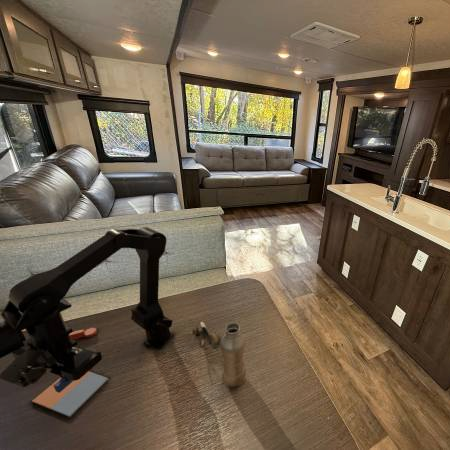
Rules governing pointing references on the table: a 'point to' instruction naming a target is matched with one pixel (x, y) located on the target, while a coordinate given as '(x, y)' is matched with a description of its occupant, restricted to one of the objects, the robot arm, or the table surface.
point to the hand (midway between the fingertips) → (67, 378)
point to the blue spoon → (62, 384)
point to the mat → (71, 394)
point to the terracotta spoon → (83, 333)
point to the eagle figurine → (206, 335)
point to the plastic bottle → (233, 355)
